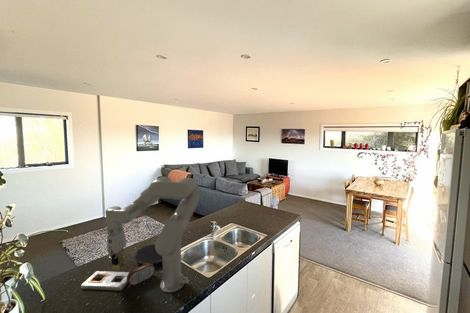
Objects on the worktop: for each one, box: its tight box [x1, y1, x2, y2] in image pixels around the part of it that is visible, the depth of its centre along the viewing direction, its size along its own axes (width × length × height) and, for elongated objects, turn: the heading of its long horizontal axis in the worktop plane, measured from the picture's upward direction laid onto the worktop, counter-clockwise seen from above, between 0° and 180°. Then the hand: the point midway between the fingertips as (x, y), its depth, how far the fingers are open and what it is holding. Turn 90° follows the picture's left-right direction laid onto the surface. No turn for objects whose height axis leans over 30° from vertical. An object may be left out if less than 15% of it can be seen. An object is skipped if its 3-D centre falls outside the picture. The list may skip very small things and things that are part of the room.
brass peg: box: [111, 249, 125, 271], centre depth 121 cm, size 4×4×9 cm
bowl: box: [133, 243, 163, 266], centre depth 145 cm, size 22×22×5 cm
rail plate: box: [80, 270, 130, 291], centre depth 123 cm, size 22×12×2 cm, turn 87°
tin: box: [127, 263, 156, 286], centre depth 123 cm, size 15×3×8 cm, turn 135°
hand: (117, 261), depth 121 cm, fingers closed on brass peg, 4 cm apart
